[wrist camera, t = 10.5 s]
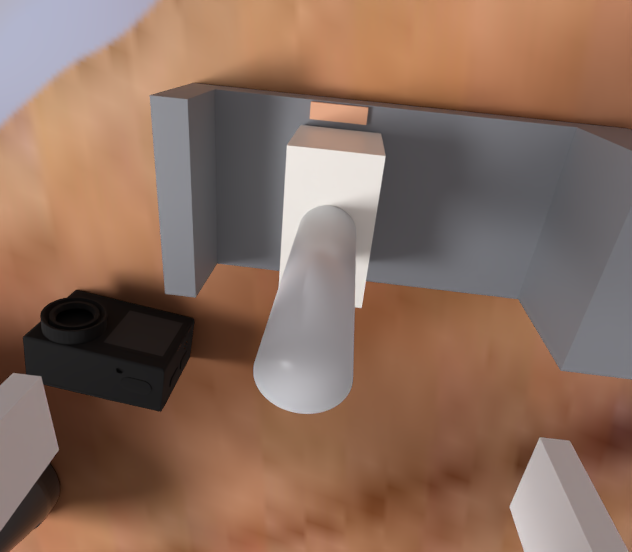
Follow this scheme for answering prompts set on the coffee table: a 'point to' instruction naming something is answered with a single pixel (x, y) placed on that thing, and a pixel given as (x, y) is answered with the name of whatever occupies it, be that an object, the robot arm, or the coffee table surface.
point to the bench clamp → (417, 205)
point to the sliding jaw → (320, 267)
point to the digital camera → (109, 349)
